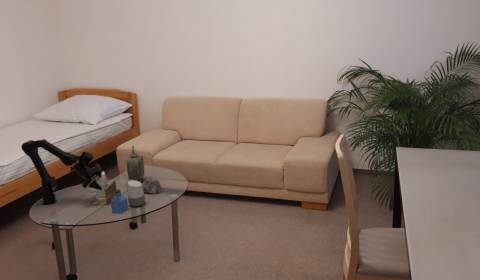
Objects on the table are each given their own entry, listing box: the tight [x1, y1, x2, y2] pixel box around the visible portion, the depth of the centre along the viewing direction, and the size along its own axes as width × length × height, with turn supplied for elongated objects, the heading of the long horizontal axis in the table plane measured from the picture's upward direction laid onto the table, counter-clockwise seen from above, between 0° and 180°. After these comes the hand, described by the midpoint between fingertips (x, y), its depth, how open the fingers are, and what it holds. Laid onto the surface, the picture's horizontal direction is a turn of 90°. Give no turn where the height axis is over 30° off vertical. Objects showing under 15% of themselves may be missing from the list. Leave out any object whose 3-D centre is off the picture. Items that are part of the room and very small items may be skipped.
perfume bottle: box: [110, 188, 129, 214], centre depth 238 cm, size 6×6×12 cm
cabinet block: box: [95, 176, 109, 200], centre depth 254 cm, size 6×6×12 cm
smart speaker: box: [127, 179, 146, 208], centre depth 245 cm, size 10×9×14 cm
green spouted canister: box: [125, 145, 145, 181], centre depth 282 cm, size 14×9×25 cm, turn 6°
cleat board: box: [91, 180, 117, 206], centre depth 254 cm, size 10×14×10 cm
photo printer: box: [89, 171, 106, 193], centre depth 273 cm, size 10×4×12 cm, turn 124°
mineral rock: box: [141, 176, 162, 195], centre depth 265 cm, size 13×11×10 cm
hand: (103, 187), depth 254 cm, fingers closed on cabinet block, 5 cm apart
